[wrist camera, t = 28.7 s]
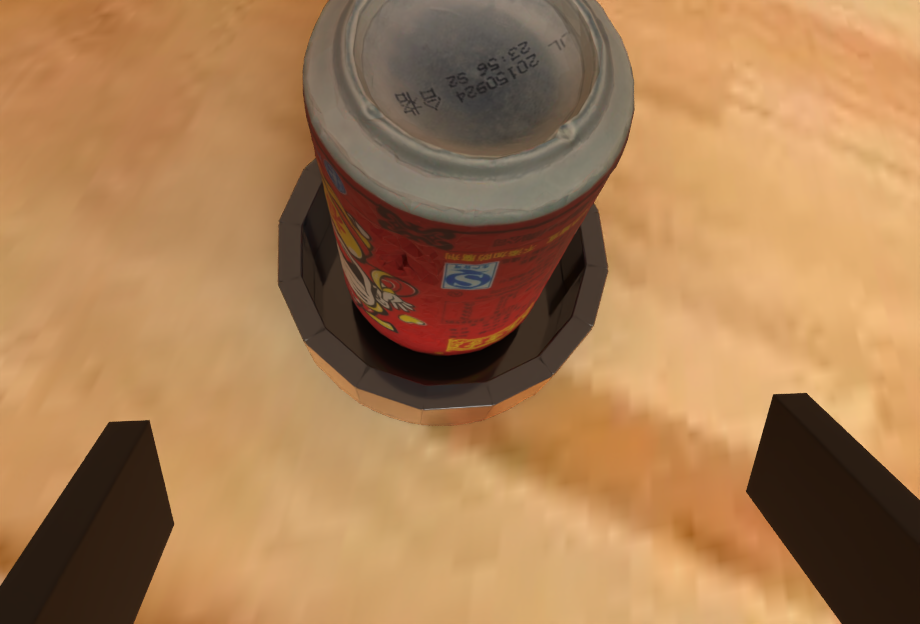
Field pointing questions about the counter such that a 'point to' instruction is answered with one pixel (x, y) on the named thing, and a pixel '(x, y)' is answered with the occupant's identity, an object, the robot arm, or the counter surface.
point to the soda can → (461, 153)
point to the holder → (418, 374)
